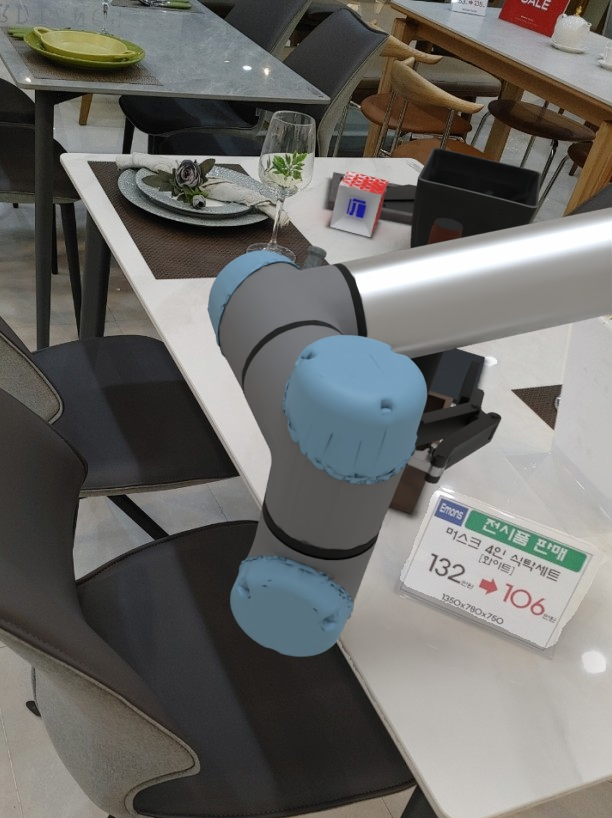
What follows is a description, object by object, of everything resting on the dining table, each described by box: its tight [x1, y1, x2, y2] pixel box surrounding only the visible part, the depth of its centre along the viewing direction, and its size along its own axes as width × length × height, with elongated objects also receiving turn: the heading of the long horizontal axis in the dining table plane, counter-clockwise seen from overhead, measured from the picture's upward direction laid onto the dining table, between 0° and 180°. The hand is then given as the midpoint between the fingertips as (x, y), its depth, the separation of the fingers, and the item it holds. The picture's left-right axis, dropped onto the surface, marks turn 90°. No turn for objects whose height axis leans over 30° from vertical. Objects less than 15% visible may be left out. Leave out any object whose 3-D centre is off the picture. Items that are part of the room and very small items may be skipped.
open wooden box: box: [389, 391, 453, 515], centre depth 91 cm, size 14×14×8 cm
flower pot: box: [409, 147, 542, 249], centre depth 131 cm, size 19×19×17 cm
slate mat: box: [430, 348, 486, 404], centre depth 112 cm, size 20×14×1 cm
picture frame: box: [327, 171, 417, 225], centre depth 155 cm, size 16×2×21 cm
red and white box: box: [329, 170, 389, 238], centre depth 144 cm, size 8×8×8 cm
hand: (401, 351), depth 73 cm, fingers open, 13 cm apart
